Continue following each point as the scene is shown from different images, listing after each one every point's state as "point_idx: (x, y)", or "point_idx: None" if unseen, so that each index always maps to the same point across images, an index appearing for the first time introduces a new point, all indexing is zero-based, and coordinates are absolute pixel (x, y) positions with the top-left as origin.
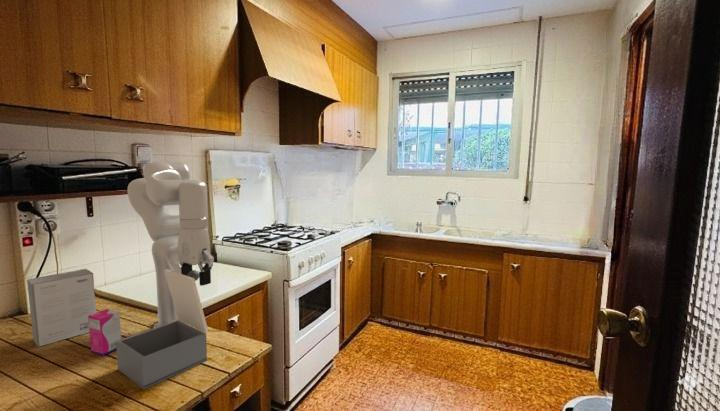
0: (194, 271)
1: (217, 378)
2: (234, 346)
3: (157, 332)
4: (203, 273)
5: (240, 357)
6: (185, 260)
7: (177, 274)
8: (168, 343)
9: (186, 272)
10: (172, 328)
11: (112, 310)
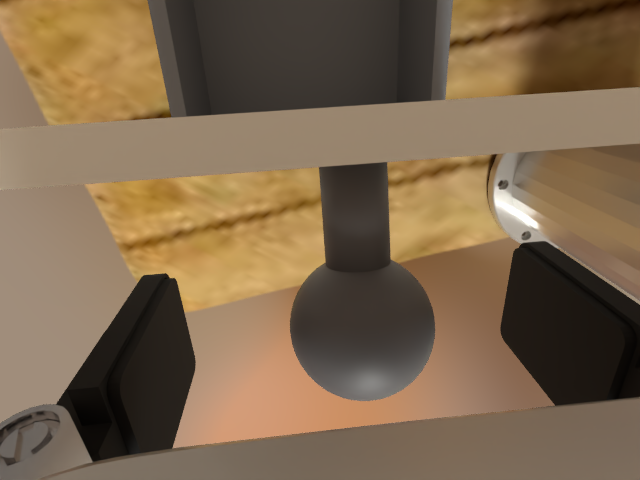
0: (335, 369)
1: (48, 92)
2: (234, 247)
3: (428, 6)
4: (71, 406)
5: (143, 222)
6: (483, 468)
7: (372, 112)
8: (402, 66)
9: (548, 319)
10: (422, 93)
11: None
